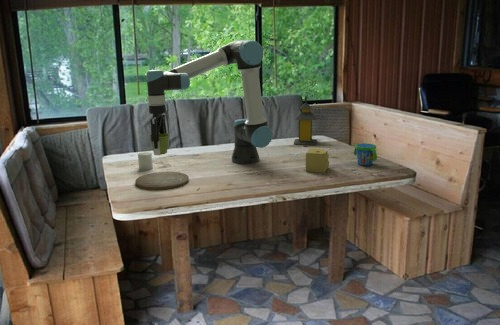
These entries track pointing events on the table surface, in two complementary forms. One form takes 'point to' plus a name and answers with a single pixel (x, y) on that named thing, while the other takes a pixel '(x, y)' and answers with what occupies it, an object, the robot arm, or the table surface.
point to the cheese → (317, 160)
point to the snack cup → (365, 153)
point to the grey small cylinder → (145, 161)
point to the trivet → (162, 180)
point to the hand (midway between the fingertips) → (160, 152)
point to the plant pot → (162, 143)
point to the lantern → (305, 125)
